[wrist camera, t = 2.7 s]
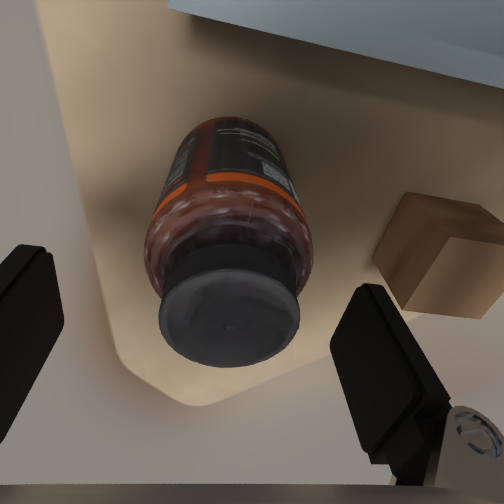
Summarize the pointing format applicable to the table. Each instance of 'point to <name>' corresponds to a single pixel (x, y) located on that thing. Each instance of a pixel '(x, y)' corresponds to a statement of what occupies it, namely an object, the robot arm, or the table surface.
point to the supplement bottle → (228, 247)
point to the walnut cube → (443, 256)
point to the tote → (382, 29)
